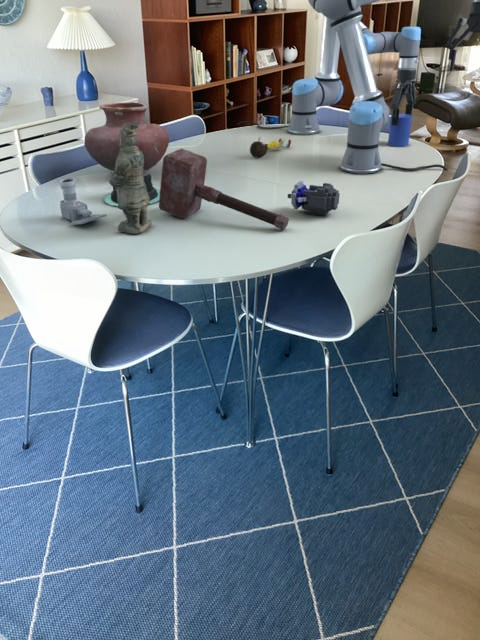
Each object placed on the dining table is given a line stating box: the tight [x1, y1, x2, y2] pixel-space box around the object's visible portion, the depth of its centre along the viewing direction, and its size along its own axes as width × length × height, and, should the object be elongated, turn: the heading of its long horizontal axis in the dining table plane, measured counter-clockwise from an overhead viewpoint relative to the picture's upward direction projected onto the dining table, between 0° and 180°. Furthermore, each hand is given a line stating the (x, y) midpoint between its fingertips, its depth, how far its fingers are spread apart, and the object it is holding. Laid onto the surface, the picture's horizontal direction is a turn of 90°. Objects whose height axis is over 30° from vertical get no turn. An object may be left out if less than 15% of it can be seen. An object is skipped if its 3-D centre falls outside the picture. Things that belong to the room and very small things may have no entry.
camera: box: [59, 177, 108, 225], centre depth 165 cm, size 9×12×15 cm
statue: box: [108, 121, 153, 235], centre depth 154 cm, size 11×9×30 cm
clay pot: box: [83, 101, 170, 172], centre depth 207 cm, size 30×30×25 cm
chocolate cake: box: [103, 169, 160, 207], centre depth 186 cm, size 15×19×20 cm
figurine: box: [249, 135, 292, 158], centre depth 235 cm, size 13×8×25 cm
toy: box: [287, 180, 341, 216], centre depth 168 cm, size 9×9×15 cm
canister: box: [387, 113, 413, 148], centre depth 241 cm, size 9×9×12 cm
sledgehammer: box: [158, 148, 290, 231], centre depth 163 cm, size 17×10×40 cm
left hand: (401, 122), depth 239 cm, fingers open, 13 cm apart
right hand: (471, 71), depth 194 cm, fingers open, 13 cm apart
